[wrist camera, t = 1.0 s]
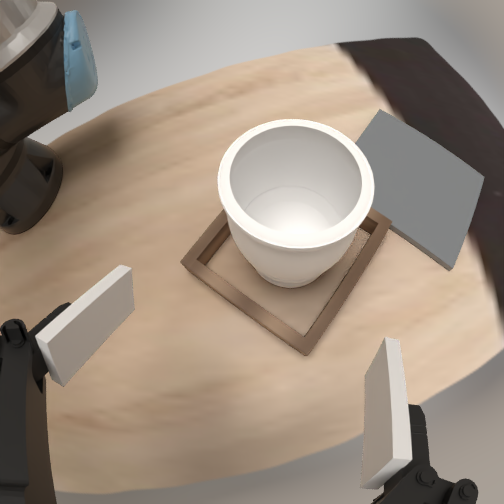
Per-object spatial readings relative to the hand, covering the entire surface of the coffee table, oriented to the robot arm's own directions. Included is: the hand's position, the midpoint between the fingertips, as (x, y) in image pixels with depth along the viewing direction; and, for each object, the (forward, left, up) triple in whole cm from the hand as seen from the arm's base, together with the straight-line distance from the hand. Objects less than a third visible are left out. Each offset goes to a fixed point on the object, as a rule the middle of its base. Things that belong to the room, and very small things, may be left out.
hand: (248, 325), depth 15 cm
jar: (-4, +10, -17) cm, 20 cm away
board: (+4, +27, -17) cm, 32 cm away
